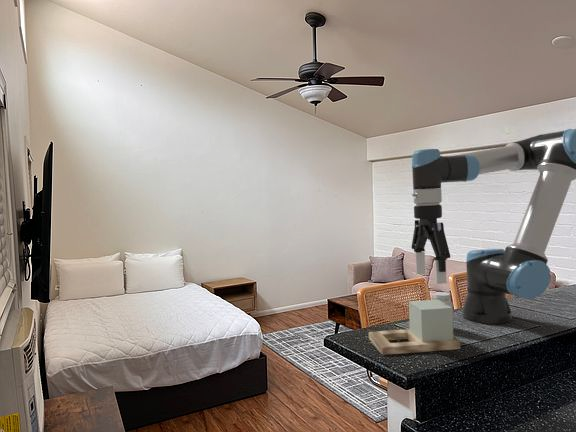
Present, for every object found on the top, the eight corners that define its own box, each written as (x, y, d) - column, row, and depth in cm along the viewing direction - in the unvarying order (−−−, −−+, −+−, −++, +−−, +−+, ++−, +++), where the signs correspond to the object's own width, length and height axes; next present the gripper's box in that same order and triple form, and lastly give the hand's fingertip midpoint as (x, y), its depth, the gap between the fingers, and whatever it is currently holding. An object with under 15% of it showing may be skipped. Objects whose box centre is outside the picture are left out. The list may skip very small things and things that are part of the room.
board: (439, 333, 127) (438, 326, 127) (460, 348, 114) (460, 341, 114) (368, 338, 125) (368, 331, 125) (382, 354, 112) (382, 347, 112)
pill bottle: (455, 332, 127) (454, 296, 127) (434, 331, 129) (433, 296, 128) (451, 326, 133) (451, 291, 133) (431, 325, 135) (430, 291, 134)
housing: (438, 329, 125) (438, 299, 125) (453, 339, 116) (452, 307, 116) (409, 331, 124) (408, 301, 124) (422, 341, 115) (421, 309, 115)
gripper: (399, 204, 130) (401, 271, 132) (434, 206, 105) (437, 289, 107) (422, 202, 131) (424, 269, 132) (462, 204, 106) (465, 286, 107)
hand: (430, 278), depth 119 cm, fingers open, 13 cm apart
